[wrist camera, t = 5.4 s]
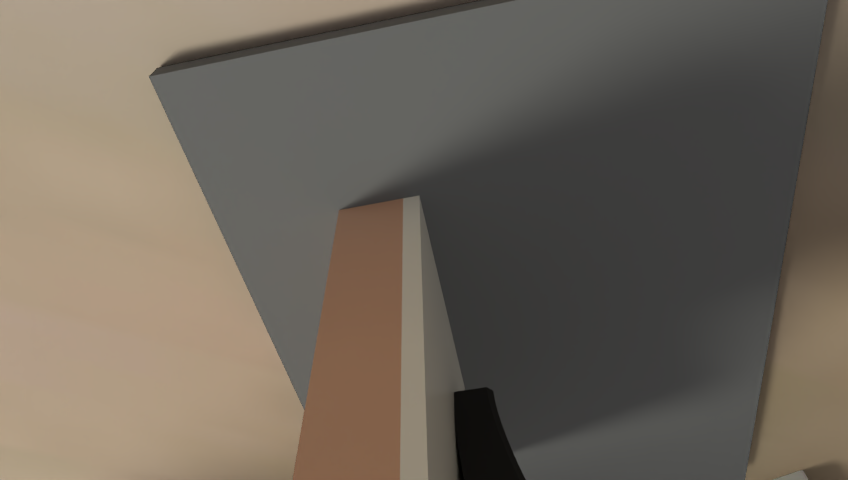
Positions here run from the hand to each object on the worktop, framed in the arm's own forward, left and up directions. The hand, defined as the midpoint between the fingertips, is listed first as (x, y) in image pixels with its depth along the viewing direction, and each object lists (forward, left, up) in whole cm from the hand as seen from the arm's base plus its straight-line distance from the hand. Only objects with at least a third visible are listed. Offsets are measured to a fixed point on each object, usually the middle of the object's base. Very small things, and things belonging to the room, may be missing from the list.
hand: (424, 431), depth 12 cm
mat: (+2, 0, -2) cm, 3 cm away
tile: (0, 0, -2) cm, 2 cm away
